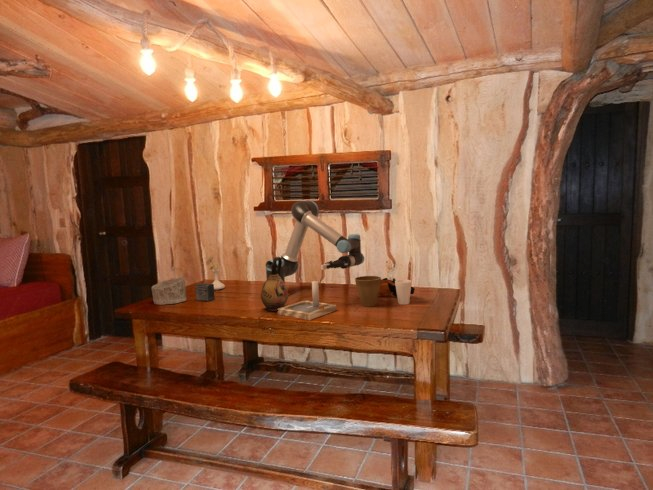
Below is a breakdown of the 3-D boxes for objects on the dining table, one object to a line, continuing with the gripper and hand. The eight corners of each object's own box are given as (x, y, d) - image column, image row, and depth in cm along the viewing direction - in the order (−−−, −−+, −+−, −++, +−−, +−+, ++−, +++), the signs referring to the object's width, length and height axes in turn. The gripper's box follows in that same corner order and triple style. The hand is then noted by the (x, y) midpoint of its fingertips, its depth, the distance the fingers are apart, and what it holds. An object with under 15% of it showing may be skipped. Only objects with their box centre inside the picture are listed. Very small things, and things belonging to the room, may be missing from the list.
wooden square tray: (277, 314, 245) (277, 305, 244) (305, 305, 263) (304, 296, 262) (309, 320, 231) (309, 310, 230) (336, 310, 249) (336, 301, 248)
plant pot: (383, 302, 263) (382, 275, 261) (380, 308, 248) (379, 280, 247) (357, 301, 266) (357, 275, 264) (353, 308, 252) (352, 280, 250)
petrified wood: (148, 304, 279) (146, 281, 278) (167, 298, 295) (165, 276, 294) (173, 306, 273) (171, 282, 271) (191, 299, 289) (189, 276, 287)
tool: (404, 311, 267) (412, 289, 263) (371, 294, 277) (379, 273, 273) (409, 308, 274) (417, 286, 270) (377, 291, 284) (384, 270, 280)
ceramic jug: (277, 313, 246) (274, 259, 243) (256, 310, 254) (253, 258, 251) (295, 306, 260) (293, 255, 257) (274, 304, 268) (272, 254, 265)
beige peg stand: (299, 317, 236) (298, 287, 234) (288, 310, 250) (286, 282, 248) (326, 312, 243) (325, 283, 241) (314, 306, 257) (312, 278, 256)
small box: (215, 299, 287) (214, 283, 286) (208, 301, 281) (207, 285, 280) (202, 298, 291) (201, 282, 290) (195, 300, 285) (194, 284, 284)
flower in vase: (217, 287, 327) (215, 253, 324) (228, 288, 320) (226, 254, 318) (203, 290, 317) (201, 255, 314) (214, 292, 310) (211, 256, 307)
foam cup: (413, 301, 262) (412, 279, 260) (410, 305, 253) (410, 282, 252) (396, 300, 265) (396, 279, 263) (394, 304, 256) (393, 282, 255)
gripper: (355, 268, 266) (331, 275, 248) (337, 267, 274) (313, 273, 256) (354, 256, 266) (330, 261, 247) (337, 255, 274) (312, 260, 255)
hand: (321, 267), depth 252 cm, fingers closed
